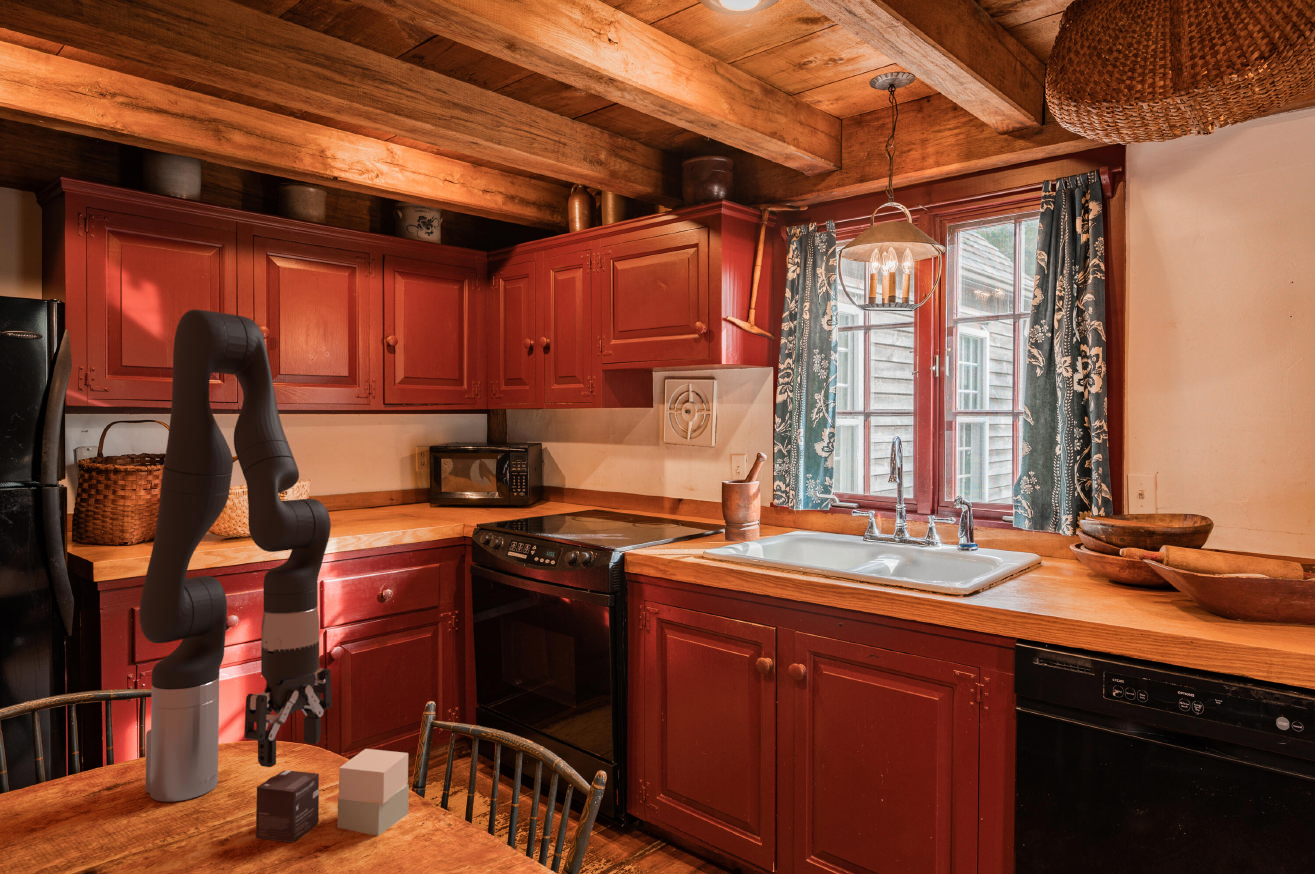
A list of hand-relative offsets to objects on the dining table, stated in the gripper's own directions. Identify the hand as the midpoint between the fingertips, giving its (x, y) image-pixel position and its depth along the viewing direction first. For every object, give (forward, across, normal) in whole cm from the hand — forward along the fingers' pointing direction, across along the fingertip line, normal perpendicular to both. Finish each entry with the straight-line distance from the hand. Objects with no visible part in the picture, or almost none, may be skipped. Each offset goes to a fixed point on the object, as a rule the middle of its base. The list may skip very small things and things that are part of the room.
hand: (290, 753), depth 113 cm
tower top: (+7, -7, +9) cm, 13 cm away
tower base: (+11, -7, +9) cm, 16 cm away
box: (+11, 0, 0) cm, 11 cm away
